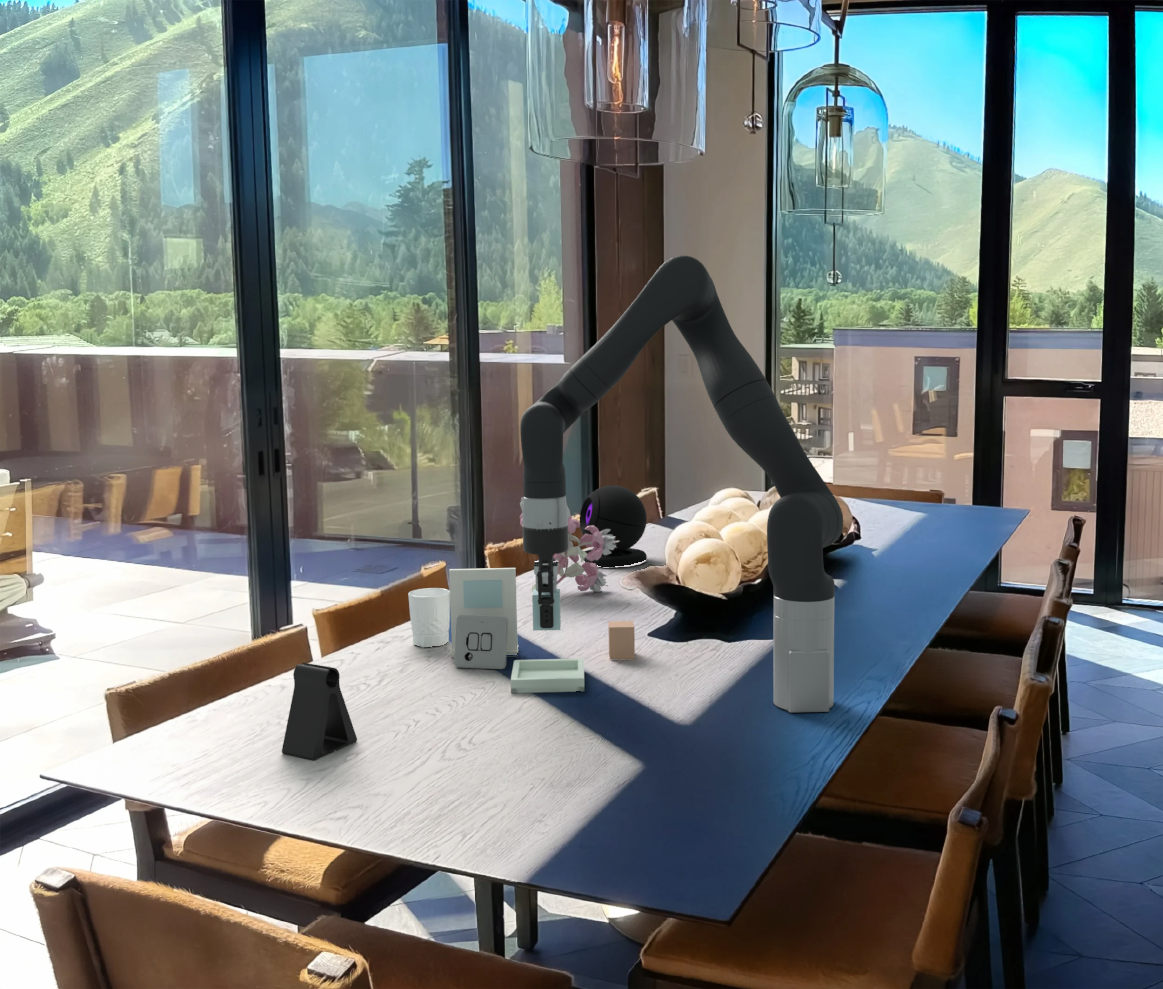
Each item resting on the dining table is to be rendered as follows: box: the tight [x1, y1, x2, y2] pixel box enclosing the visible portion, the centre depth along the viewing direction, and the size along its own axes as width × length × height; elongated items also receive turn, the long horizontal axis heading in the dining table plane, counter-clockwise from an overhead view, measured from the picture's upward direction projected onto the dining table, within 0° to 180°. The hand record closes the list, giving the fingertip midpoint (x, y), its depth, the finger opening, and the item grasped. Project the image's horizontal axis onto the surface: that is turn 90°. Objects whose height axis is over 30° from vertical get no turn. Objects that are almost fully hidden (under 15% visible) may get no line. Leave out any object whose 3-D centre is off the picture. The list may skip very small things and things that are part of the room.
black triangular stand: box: [281, 662, 358, 762], centre depth 164 cm, size 9×6×12 cm, turn 149°
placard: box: [448, 567, 519, 658], centre depth 213 cm, size 5×12×16 cm, turn 91°
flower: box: [519, 496, 619, 593], centre depth 260 cm, size 20×22×25 cm
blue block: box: [531, 588, 562, 631], centre depth 194 cm, size 4×4×6 cm
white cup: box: [407, 587, 451, 648], centre depth 221 cm, size 8×8×10 cm
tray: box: [510, 657, 585, 694], centre depth 195 cm, size 12×12×2 cm
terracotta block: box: [607, 620, 636, 660], centre depth 210 cm, size 4×4×6 cm
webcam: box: [579, 484, 648, 567], centre depth 299 cm, size 17×17×20 cm
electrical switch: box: [453, 615, 508, 670], centre depth 205 cm, size 9×5×9 cm, turn 78°
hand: (547, 623), depth 194 cm, fingers closed on blue block, 4 cm apart
